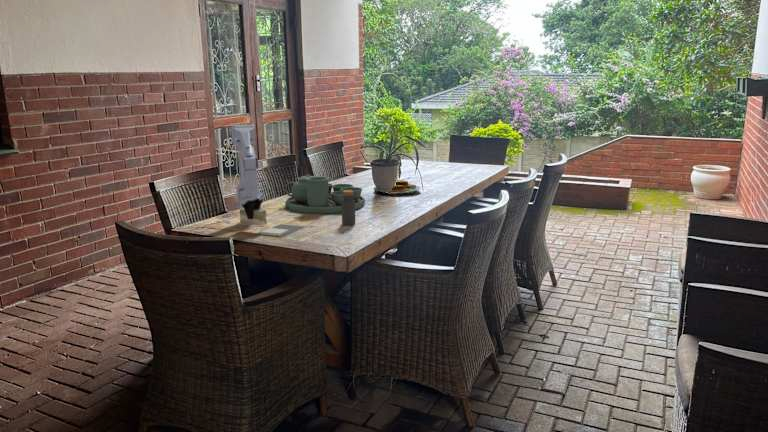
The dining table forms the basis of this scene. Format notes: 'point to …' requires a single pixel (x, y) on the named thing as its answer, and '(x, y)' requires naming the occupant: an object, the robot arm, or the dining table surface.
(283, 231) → the tile
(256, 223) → the beige rectangular block
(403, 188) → the food on plate
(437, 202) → the dining table surface
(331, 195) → the tea set
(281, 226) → the mat
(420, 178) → the dining table surface
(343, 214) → the bottle
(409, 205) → the dining table surface
